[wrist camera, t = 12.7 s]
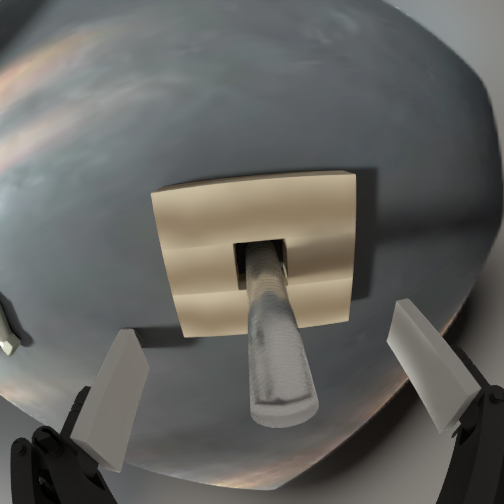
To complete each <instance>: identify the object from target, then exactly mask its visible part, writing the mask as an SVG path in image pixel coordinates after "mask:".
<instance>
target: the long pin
mask: <svg viewBox="0 0 504 504" xmlns="http://www.w3.org/2000/svg"><path fill="white" fill-rule="evenodd" d="M245 254H246V288H247V321H248V351H249V380H250V406H251V417H252V418H253V420H254V421H255V422H257V423H259V424H261V425H263V426H267V427H273V428H282V427H290V426H294V425H297V424H300V423H303V422H305V421H306V420H308V419H310V418H311V417H312V416H313V415H314V414H315V413H316V412H317V410H318V407H319V402H318V399H317V395H316V391H315V387H314V383H313V380H312V376H311V372H310V368H309V365H308V361H307V357H306V354H305V350H304V347H303V343H302V339H301V336H300V332H299V329H298V325H297V322H296V318H295V314H294V311H293V308H292V304H291V301H290V297H289V294H288V290H287V287H286V283H285V280H284V277H283V273H282V270H281V267H280V263H279V260H278V256H277V253H276V250H275V247H274V245H273V243H272V242H271V241H269V240H263V241H253V242H250V243H249V244H248V245H247V247H246V251H245Z"/></svg>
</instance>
